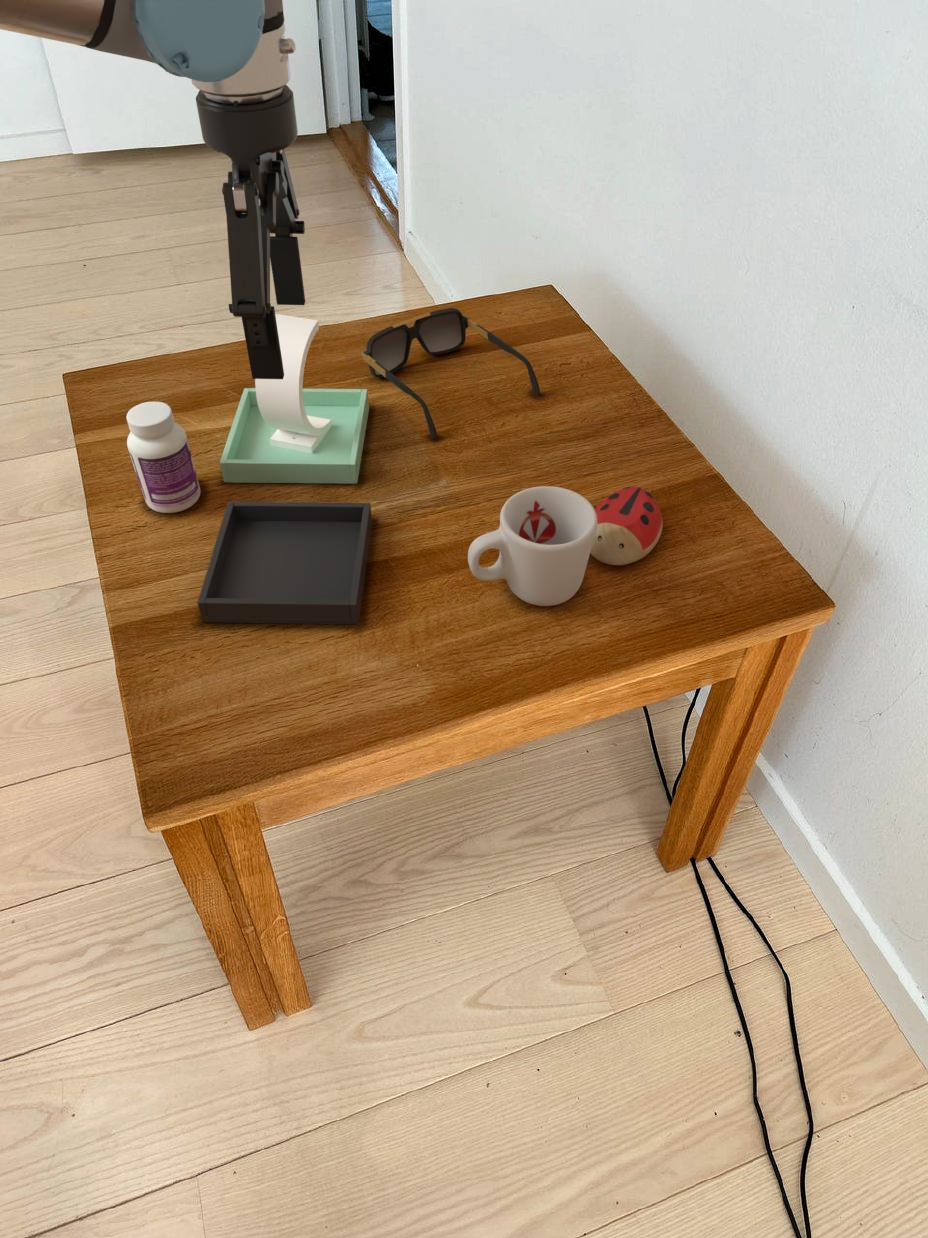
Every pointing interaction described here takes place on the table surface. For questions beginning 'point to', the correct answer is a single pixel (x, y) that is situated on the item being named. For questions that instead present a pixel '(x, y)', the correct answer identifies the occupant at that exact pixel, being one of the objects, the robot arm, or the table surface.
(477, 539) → the cup
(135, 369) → the table surface
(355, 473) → the mint tray
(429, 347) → the sunglasses
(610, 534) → the ladybug figurine
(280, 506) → the charcoal tray
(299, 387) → the headphone stand
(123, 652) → the table surface
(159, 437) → the pill bottle
